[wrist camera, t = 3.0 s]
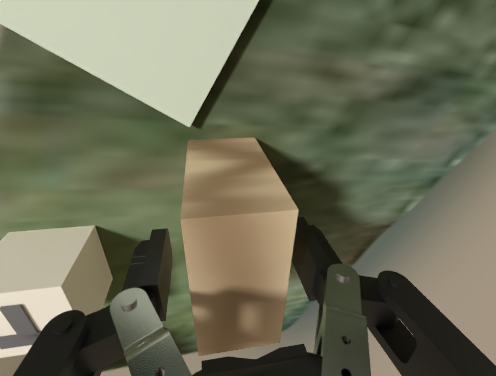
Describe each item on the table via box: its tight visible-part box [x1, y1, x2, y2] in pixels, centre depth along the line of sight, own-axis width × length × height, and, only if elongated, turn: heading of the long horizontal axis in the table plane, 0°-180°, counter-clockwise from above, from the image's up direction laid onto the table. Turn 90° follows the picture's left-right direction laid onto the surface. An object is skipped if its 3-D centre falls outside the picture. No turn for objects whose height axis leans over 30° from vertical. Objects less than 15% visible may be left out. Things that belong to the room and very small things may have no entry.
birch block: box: [181, 138, 298, 356], centre depth 14 cm, size 4×8×8 cm, turn 179°
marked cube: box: [0, 225, 113, 358], centre depth 16 cm, size 5×5×5 cm
